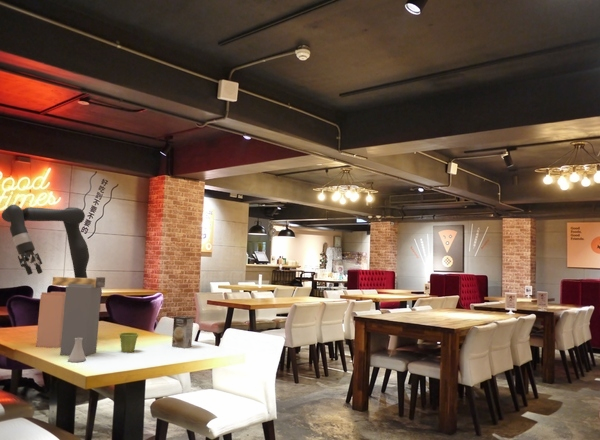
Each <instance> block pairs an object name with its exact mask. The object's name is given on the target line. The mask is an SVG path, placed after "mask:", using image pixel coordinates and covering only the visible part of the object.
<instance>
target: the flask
mask: <svg viewBox="0 0 600 440" xmlns="http://www.w3.org/2000/svg"><path fill="white" fill-rule="evenodd" d="M82 339H83V338H75V345H74V348H73V350H72V353H71V355H70V356H69V357H68V359H67V362H70V363H81V362H85V361H86V360H87V359H86V356H85V355H84V351H83V348H82Z"/></svg>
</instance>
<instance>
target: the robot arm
mask: <svg viewBox="0 0 600 440" xmlns="http://www.w3.org/2000/svg"><path fill="white" fill-rule="evenodd" d="M85 217H86V214H85V212H84V210H82V209H81V208H79V207H74V206H73V207H71V206H70V207H66V208H64V209H54V208H46V207H29V206H28V207H25V208H23V209H22V208H21V207H20V206H19V205H17V204H11V205H8V206H7V207H6V208H5V209H4V210H2V213H1V218H2V220H3V221H4V222H7V223H10V227H9V231H10V234H11V236H12V240H13V243H14V246H15V249H16V252H17V254H18V255H17V259H18V262H19V264H20V267H21V268H24V269H25V272H26V273H27V275H28V276H29V275H32V274H33V273H34V272H33V270H32V268H31V264H32V265H33V266H34V267H35V270H36V273H37V274H39V275H40V274H42V273H43V270H42V267H41V265H42V264H43V262H42V259H41V257H40V255H39V253H38V252H37V253H34V251H36V250H35V246H34V245H35V244H34V243H33V241H32V238H31V236H30V234H29V232H28V229H27V227H26V223H25V222H63V225H64V228H65V232H66V236H67V242H68V247H69V253H70V256H71V263H72V269H73V273H74V274H73V275H74V278H88V275H87V268H88V264H89V262H90V261H89V260H90V254H89V252H90V251H89V247H88V245H87V242H86V239H85V238H84V237H83V234H82V233H81V231H80V224H81V223H82V222H84V220H85Z"/></svg>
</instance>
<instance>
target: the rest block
mask: <svg viewBox="0 0 600 440" xmlns="http://www.w3.org/2000/svg"><path fill="white" fill-rule="evenodd" d="M65 294H66V291H50V292H46V291H45V292H41V294H40V299H39V310H38V320H37V321H38V322H37V331H36V332H37V333H36V340H35V341H36V343H35V347H38V348H39V347H40V348H53V347H54V348H56V349H57V348H59V349H61V339H62V328H63V316H64V305H65Z"/></svg>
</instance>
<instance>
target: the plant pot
mask: <svg viewBox="0 0 600 440" xmlns="http://www.w3.org/2000/svg"><path fill="white" fill-rule="evenodd" d="M118 335H119V338H120V349H121V352H123V353H131V352H135V348H136V344H137V339H138V337H139V336H140V333H138V332H120V333H119V334H118Z"/></svg>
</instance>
